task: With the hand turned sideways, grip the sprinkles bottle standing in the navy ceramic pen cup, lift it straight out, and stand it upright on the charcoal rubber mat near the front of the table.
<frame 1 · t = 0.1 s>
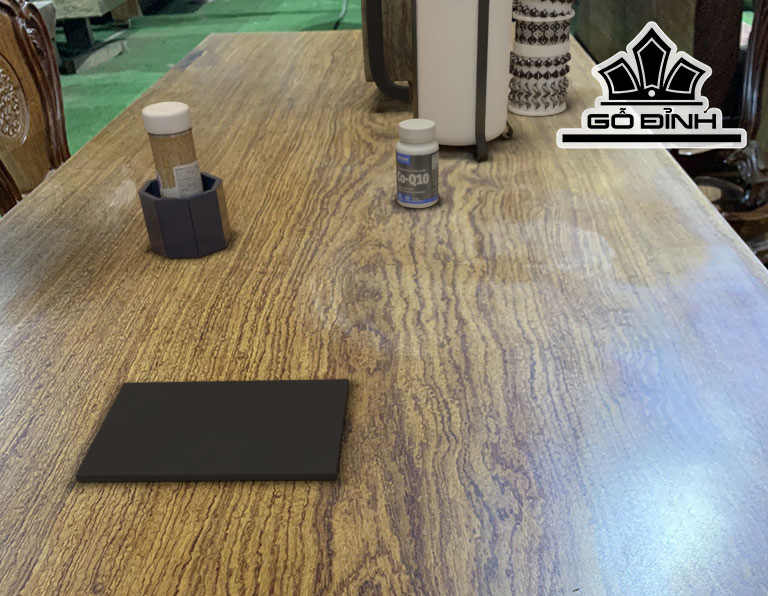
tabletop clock: (401, 102, 126), on the table
knife: (508, 62, 142), on the table
sprinkles bottle: (192, 244, 88), resting in pen cup
decorative candle: (536, 109, 121), on the table
coffee press: (449, 146, 109), on the table
mat: (222, 430, 61), on the table
pill bottle: (417, 203, 94), on the table
pen cup: (191, 242, 88), on the table
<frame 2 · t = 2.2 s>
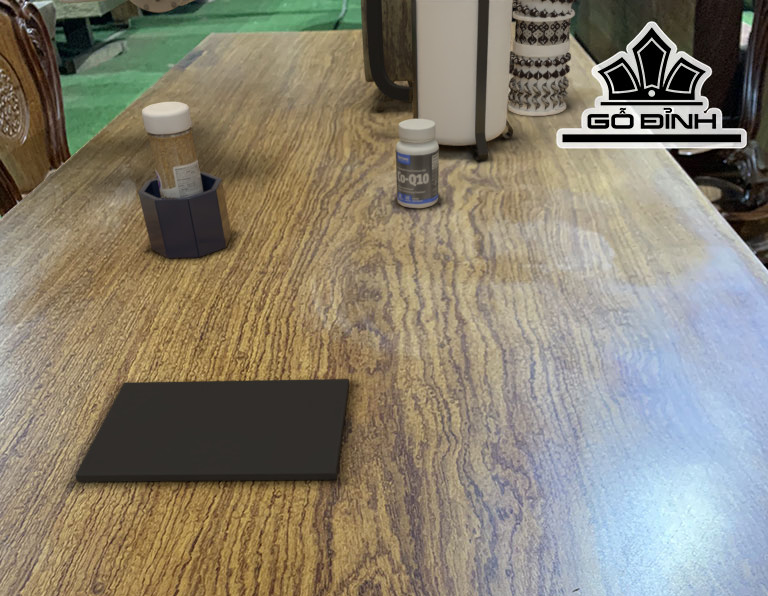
nothing on the table moved.
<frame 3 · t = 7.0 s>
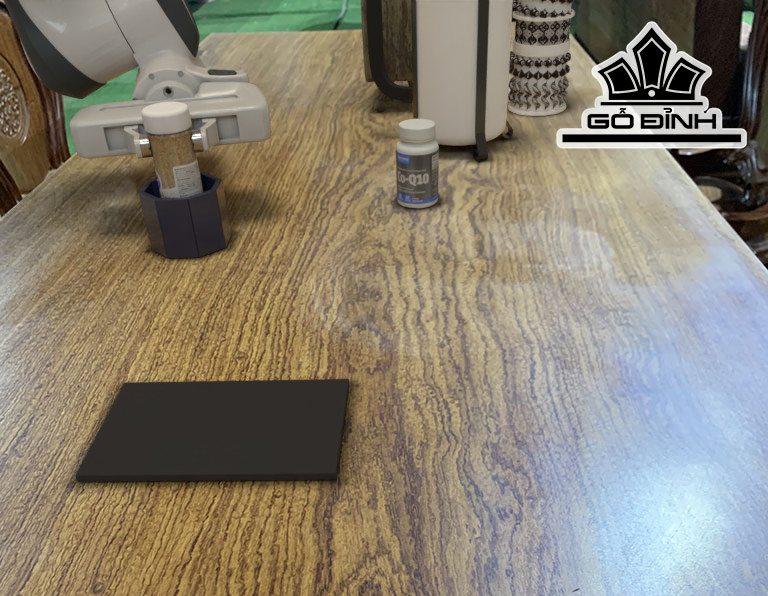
hand: (172, 146, 81), 10 cm above the table, tool horizontal, fingers closed on sprinkles bottle, 4 cm apart
sprinkles bottle: (192, 244, 88), resting in pen cup, touching gripper
everything else where it was.
when the fingers open (11 cm above the table, at t = 17.6 s): sprinkles bottle stays where it is, resting on mat.
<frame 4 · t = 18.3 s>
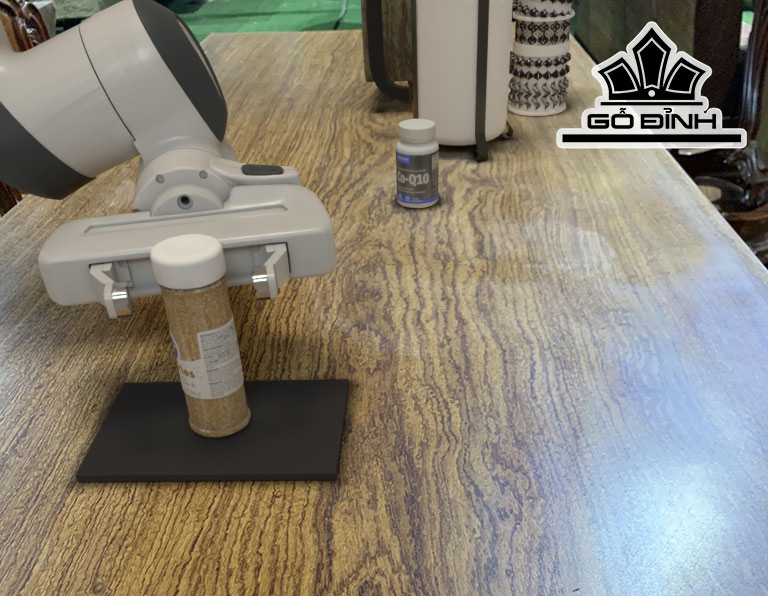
hand: (192, 298, 53), 11 cm above the table, tool horizontal, fingers open, 8 cm apart
sprinkles bottle: (222, 424, 61), resting on mat
everything else where it was.
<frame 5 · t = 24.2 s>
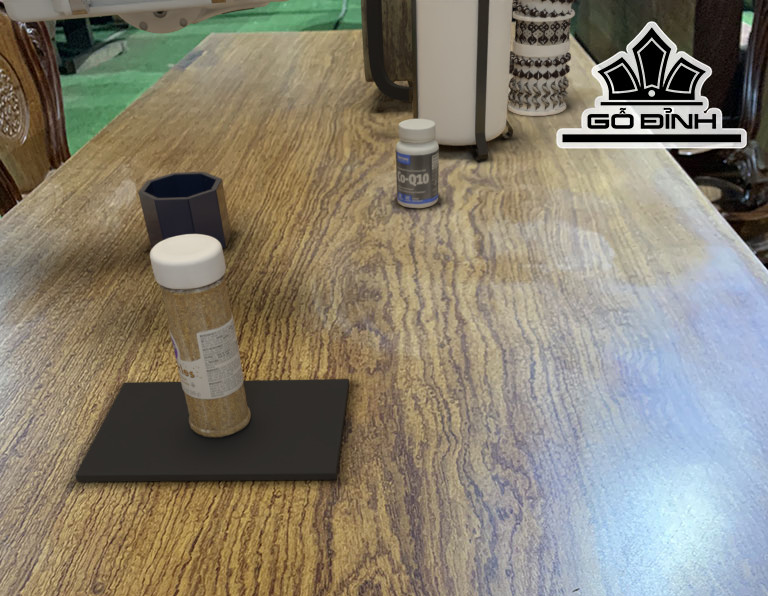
nothing on the table moved.
at the end: sprinkles bottle inside the target area on the mat (0.1 cm from its centre), point 0.4 cm above the mat's base; sprinkles bottle tilted 0°; the gripper is holding nothing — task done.
